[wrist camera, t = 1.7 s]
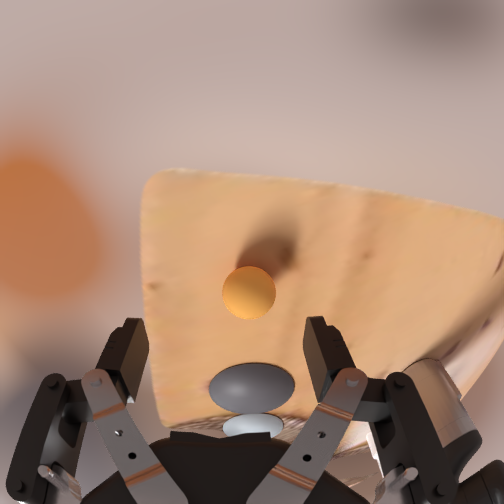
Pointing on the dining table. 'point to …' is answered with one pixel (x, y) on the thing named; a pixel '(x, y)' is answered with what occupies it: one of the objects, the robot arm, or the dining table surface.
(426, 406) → the robot arm
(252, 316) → the ball
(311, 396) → the dining table surface
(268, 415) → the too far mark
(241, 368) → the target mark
